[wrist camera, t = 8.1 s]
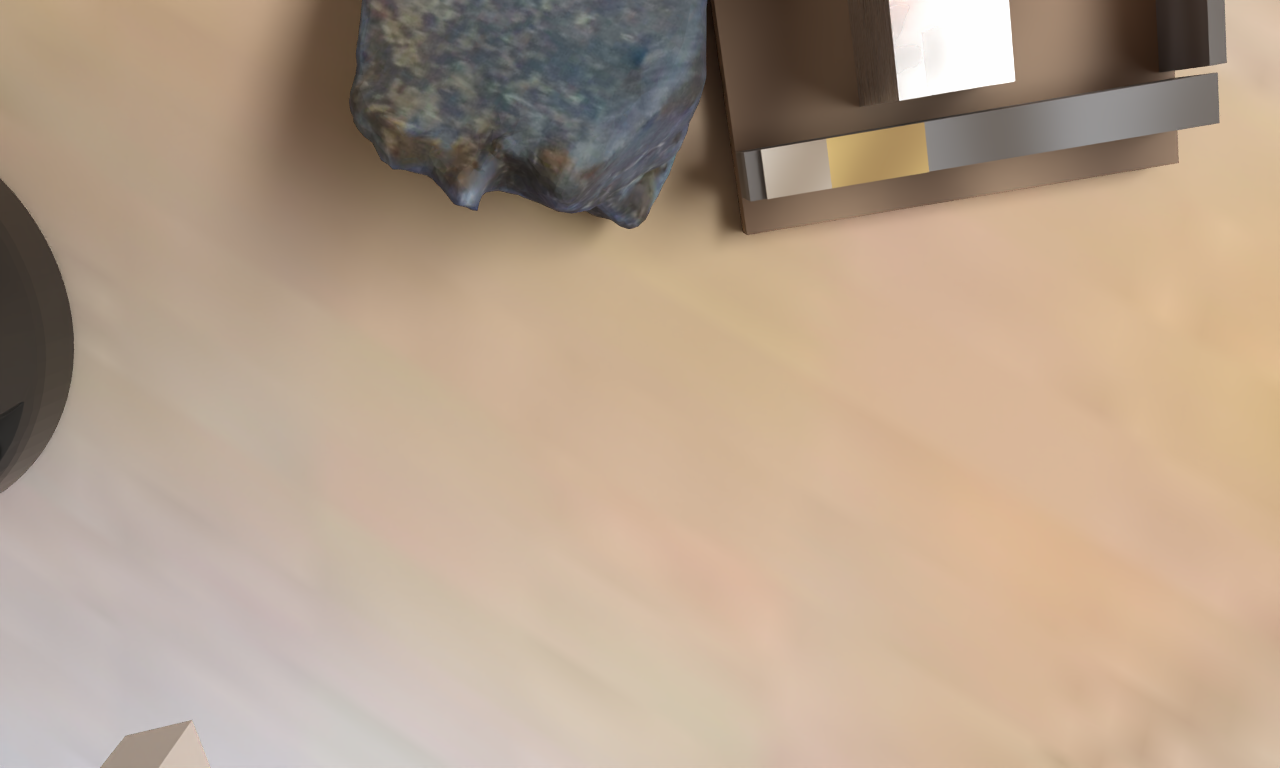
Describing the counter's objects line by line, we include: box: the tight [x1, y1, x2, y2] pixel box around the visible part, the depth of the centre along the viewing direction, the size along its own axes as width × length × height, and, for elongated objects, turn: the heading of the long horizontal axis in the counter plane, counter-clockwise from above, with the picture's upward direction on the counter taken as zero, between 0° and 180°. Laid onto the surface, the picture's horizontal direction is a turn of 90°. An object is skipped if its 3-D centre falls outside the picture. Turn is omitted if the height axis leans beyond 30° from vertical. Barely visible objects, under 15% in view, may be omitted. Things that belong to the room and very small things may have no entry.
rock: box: [349, 0, 707, 229], centre depth 32 cm, size 16×8×10 cm
